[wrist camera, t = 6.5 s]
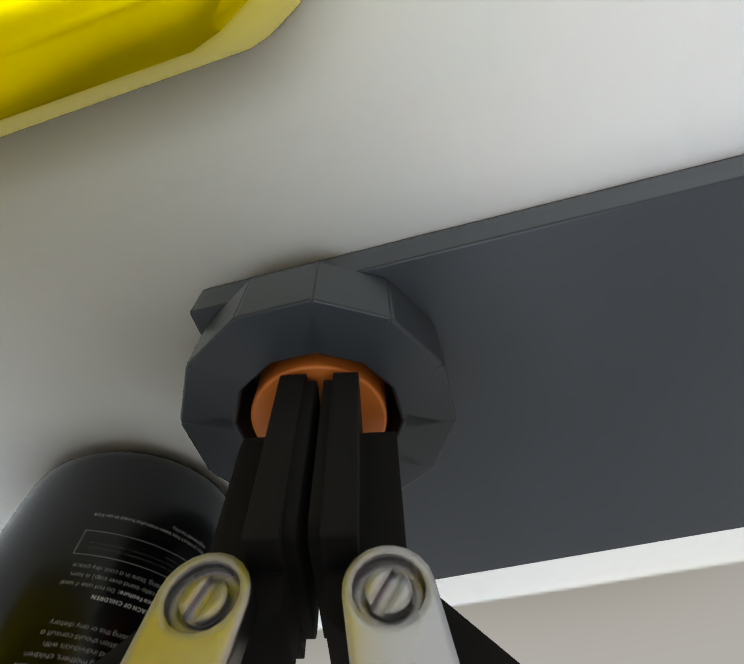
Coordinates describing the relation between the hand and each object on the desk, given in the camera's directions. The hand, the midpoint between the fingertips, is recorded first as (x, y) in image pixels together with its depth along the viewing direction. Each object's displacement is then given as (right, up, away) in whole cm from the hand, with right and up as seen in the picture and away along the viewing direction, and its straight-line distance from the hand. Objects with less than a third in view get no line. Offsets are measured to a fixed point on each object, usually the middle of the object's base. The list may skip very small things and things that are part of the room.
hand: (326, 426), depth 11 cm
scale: (+5, 0, +4) cm, 6 cm away
